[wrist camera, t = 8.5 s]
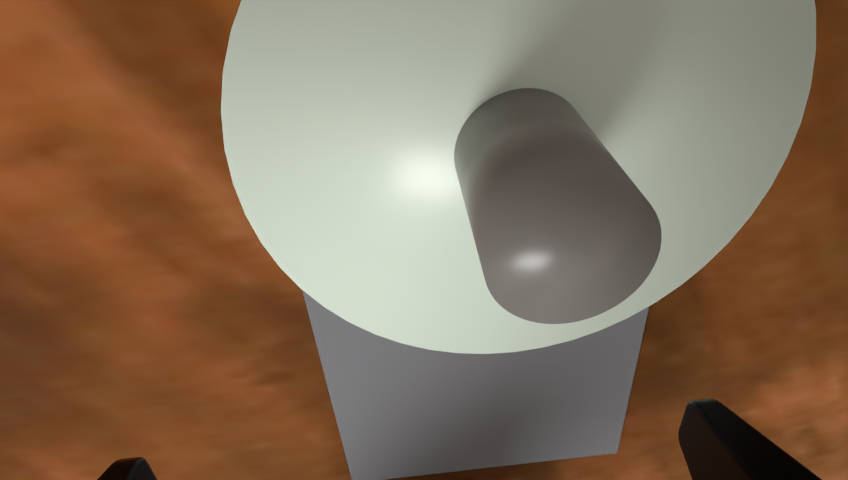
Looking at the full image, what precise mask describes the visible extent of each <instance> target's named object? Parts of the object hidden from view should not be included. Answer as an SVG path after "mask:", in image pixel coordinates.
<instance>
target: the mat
mask: <svg viewBox="0 0 848 480" xmlns="http://www.w3.org/2000/svg"><path fill="white" fill-rule="evenodd" d="M302 291H303V290H302ZM303 295H304V298H305V302H306V306H307V310H308V314H309V318H310V321H311V325H312V329H313V333H314V337H315V341H316V344H317V348H318V352H319V356H320V360H321V364H322V367H323V371H324V375H325V379H326V383H327V386H328V390H329V394H330V398H331V402H332V406H333V409H334V413H335V417H336V421H337V425H338V429H339V432H340V436H341V440H342V444H343V448H344V452H345V455H346V459H347V463H348V467H349V471H350V475H351V478H352V480H385V479H394V478H403V477H412V476H420V475H429V474H438V473H447V472H455V471H464V470H473V469H482V468H491V467H499V466H508V465H517V464H526V463H535V462H543V461H552V460H561V459H570V458H578V457H587V456H596V455H605V454H614V453H617V451H618V446H619V441H620V437H621V432H622V428H623V423H624V419H625V414H626V410H627V405H628V401H629V396H630V392H631V387H632V382H633V378H634V373H635V369H636V364H637V360H638V355H639V351H640V346H641V342H642V337H643V333H644V328H645V323H646V319H647V314H648V310H649V307H647V308H645V309H643V310H641V311H640V312H638V313H636V314H634V315H632V316H631V317H629V318H627V319H625V320H622V321H620V322H618V323H616V324H614V325H611V326H609V327H607V328H605V329H602V330H600V331H597V332H594V333H592V334H589V335H586V336H583V337H580V338H577V339H574V340H571V341H567V342H563V343H559V344H555V345H551V346H547V347H543V348H537V349H531V350H525V351H518V352H508V353H493V354H468V353H452V352H443V351H435V350H428V349H424V348H419V347H415V346H411V345H406V344H402V343H399V342H396V341H393V340H390V339H387V338H384V337H381V336H378V335H375V334H373V333H371V332H369V331H367V330H364V329H362V328H360V327H358V326H356V325H354V324H351V323H349V322H348V321H346V320H344V319H343V318H341V317H339V316H338V315H336V314H335V313H333V312H331V311H330V310H328V309H326V308H325V307H323V306H322V305H321V304H320V303H318V302H317V301H316V300H315V299H313V298H312V297H311V296H309V295H308V294H307V293H306V292H304V291H303Z"/></svg>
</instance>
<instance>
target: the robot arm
mask: <svg viewBox="0 0 848 480" xmlns="http://www.w3.org/2000/svg"><path fill="white" fill-rule="evenodd" d="M679 442H680V446H681V449H682V451H683V454H684V457H685V460H686V463H687V466H688V468H689V471H690V474H691V477H692V480H822V479H820V478H819V477H818V476H816V475H815V474H814V473H812V472H811V471H810V470H808V469H807V468H806V467H805V466H803V465H802V464H801V463H799V462H798V461H797V460H795V459H794V458H793V457H791V456H790V455H789V454H787V453H786V452H785V451H784V450H782V449H781V448H780V447H778V446H777V445H776V444H774V443H773V442H772V441H770V440H769V439H768V438H766V437H765V436H764V435H762V434H761V433H760V432H759V431H757V430H756V429H755V428H753V427H752V426H751V425H749V424H748V423H747V422H745V421H744V420H743V419H741V418H740V417H739V416H738V415H736V414H735V413H734V412H732V411H731V410H730V409H728V408H727V407H726V406H724V405H723V404H722V403H720V402H719V401H717V400H715V399H701V400H692V401H690V402H689V403H688V404H687V406H686V409H685V413H684V416H683V419H682V422H681V425H680V428H679ZM97 480H157V478H156V476H155V475H154V473H153V471H152V469H151V468H150V466H149V464H148V462H147V461H146V460H145V459H144V458H142V457H136V458H126V459H120V460H117V461H115V462H114V463H113V464H112V465H110V466H109V468H108V469H107V470H106V471H105V472H104V473H103V474H102V475H101V476H100V477H99V478H98V479H97Z"/></svg>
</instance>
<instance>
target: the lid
mask: <svg viewBox="0 0 848 480" xmlns="http://www.w3.org/2000/svg"><path fill="white" fill-rule="evenodd" d="M815 53H816V7H815V1H814V0H242V1H241V3H240V6H239V9H238V12H237V15H236V18H235V20H234V23H233V26H232V29H231V33H230V38H229V43H228V48H227V53H226V58H225V64H224V69H223V81H222V100H221V117H222V128H223V138H224V149H225V153H226V157H227V161H228V165H229V169H230V174H231V178H232V182H233V185H234V187H235V190H236V192H237V195H238V198H239V200H240V203H241V205H242V208H243V210H244V213H245V215H246V217H247V219H248V220H249V222H250V224H251V226H252V227H253V229H254V231H255V233H256V234H257V236H258V238H259V240H260V241H261V243H262V244H263V246H264V247H265V248H266V250H267V251H268V252H269V254H270V255H271V256H272V258H273V259H274V260H275V262H276V263H277V264H278V266H279V267H280V268H281V269H282V270H283V271H284V272H285V273H286V274H287V275H288V276H289V277H290V278H291V279H292V280H293V281H294V282H295V283H296V284H297V285H298V286H299V287H300V288H301V289H302V290H303V291H304V292H306V293H307V294H308V295H309V296H311V297H312V298H313V299H315V300H316V301H317V302H318V303H320V304H321V305H322V306H323V307H325V308H326V309H328V310H330V311H331V312H333V313H335V314H336V315H338V316H339V317H341V318H343V319H344V320H346V321H348V322H349V323H351V324H354V325H356V326H358V327H360V328H362V329H364V330H367V331H369V332H371V333H373V334H375V335H378V336H381V337H384V338H387V339H390V340H393V341H396V342H399V343H402V344H406V345H411V346H415V347H419V348H424V349H428V350H435V351H443V352H452V353H468V354H493V353H508V352H518V351H525V350H531V349H537V348H543V347H547V346H551V345H555V344H559V343H563V342H567V341H571V340H574V339H577V338H580V337H583V336H586V335H589V334H592V333H594V332H597V331H600V330H602V329H605V328H607V327H609V326H611V325H614V324H616V323H618V322H620V321H622V320H625V319H627V318H629V317H631V316H632V315H634V314H636V313H638V312H640V311H641V310H643V309H645V308H647V307H649V306H650V305H652V304H654V303H656V302H657V301H659V300H660V299H662V298H663V297H664V296H666V295H667V294H669V293H670V292H672V291H673V290H675V289H676V288H678V287H679V286H681V285H682V284H683V283H684V282H686V281H687V280H688V279H689V278H691V277H692V276H693V275H694V274H695V273H697V272H698V271H699V270H700V269H702V268H703V267H704V266H705V265H706V264H707V263H708V262H709V261H710V260H711V259H712V258H713V257H714V256H715V255H717V254H718V253H719V252H720V251H721V250H722V249H723V248H724V247H725V246H726V245H727V244H728V243H729V242H730V241H731V239H732V238H733V237H734V236H735V235H736V233H737V232H738V231H739V230H740V229H741V227H742V226H743V225H744V224H745V223H746V221H747V220H748V219H749V218H750V217H751V215H752V214H753V213H754V211H755V210H756V208H757V207H758V205H759V204H760V202H761V201H762V199H763V198H764V196H765V195H766V194H767V192H768V191H769V189H770V188H771V186H772V184H773V182H774V180H775V178H776V177H777V175H778V173H779V171H780V169H781V167H782V166H783V164H784V162H785V160H786V158H787V156H788V154H789V151H790V149H791V146H792V144H793V141H794V139H795V136H796V134H797V132H798V129H799V127H800V124H801V121H802V117H803V114H804V110H805V106H806V103H807V99H808V95H809V92H810V88H811V82H812V75H813V67H814V60H815Z"/></svg>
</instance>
